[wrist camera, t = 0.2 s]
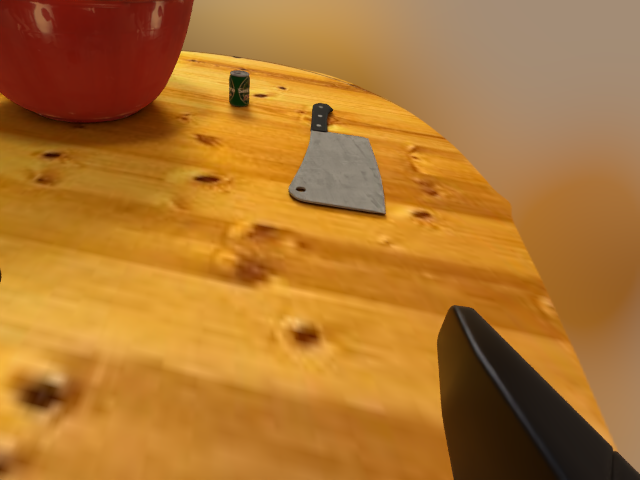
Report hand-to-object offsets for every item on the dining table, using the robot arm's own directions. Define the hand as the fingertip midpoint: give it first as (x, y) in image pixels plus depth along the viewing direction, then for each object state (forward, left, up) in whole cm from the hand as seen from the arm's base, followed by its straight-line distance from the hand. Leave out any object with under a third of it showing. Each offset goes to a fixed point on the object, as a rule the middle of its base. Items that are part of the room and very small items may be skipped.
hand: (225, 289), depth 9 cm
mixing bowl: (+50, +30, -17) cm, 60 cm away
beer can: (+58, +12, -17) cm, 61 cm away
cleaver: (+46, -3, -17) cm, 50 cm away
